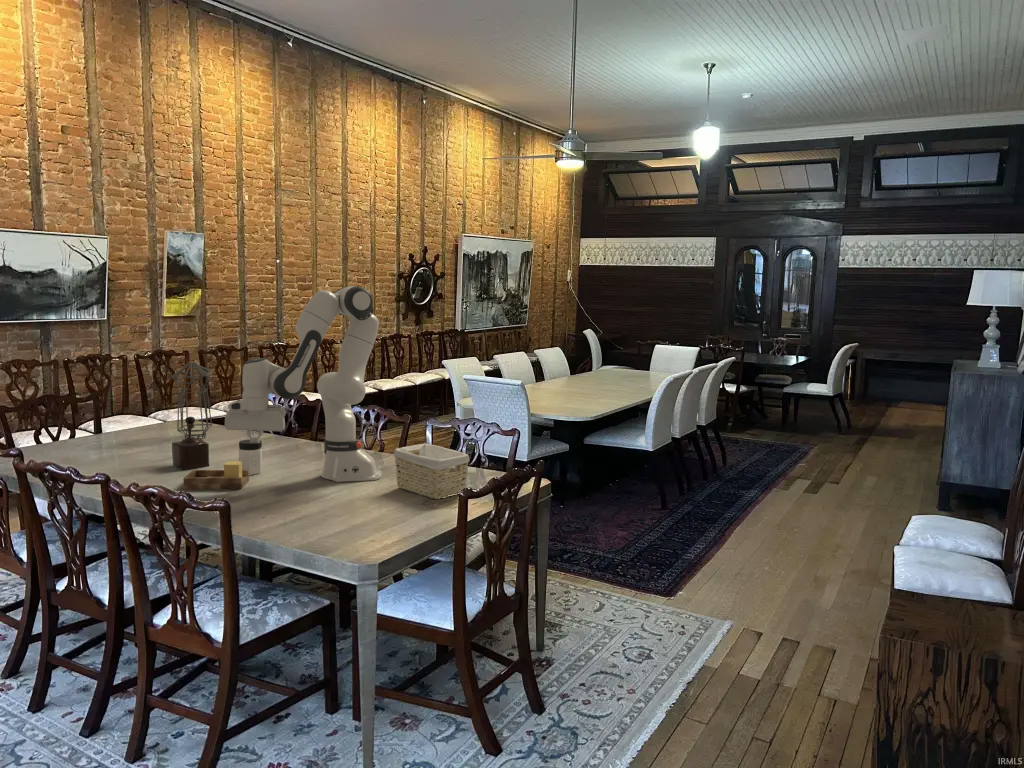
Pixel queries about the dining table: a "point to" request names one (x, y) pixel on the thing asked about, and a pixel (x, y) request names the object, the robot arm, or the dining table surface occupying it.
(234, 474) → the block
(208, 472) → the wooden tray
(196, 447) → the dark brown knobbed box
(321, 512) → the dining table surface
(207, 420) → the geometric lantern
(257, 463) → the jar
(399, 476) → the storage basket
